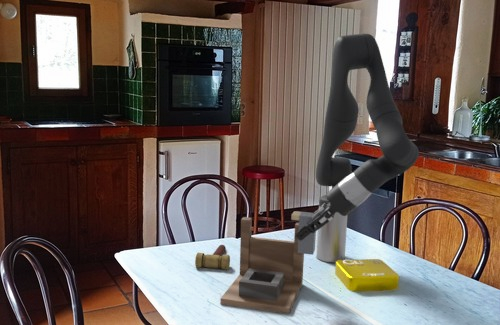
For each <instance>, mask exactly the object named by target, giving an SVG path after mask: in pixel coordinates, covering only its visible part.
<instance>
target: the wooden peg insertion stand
mask: <svg viewBox="0 0 500 325" xmlns="http://www.w3.org/2000/svg"><path fill="white" fill-rule="evenodd" d="M252 225H253V218H252V217H249V216H248V217H246V216H243V217H242V218H241V219H240V249H239V252H240V253H239V255H240V256H239V274H238V276H237V277H236V278H235V279H234V281H233V282H232V283H231V285H230V286H228V288H227V290H226V291H225V292H224V294H223V295H222V296H221V297H220V303H219V304H220V305H225V306H231V307H240V308H246V309H253V310H259V311H265V312H272V313H273V312H274V313H280V314H286V315H290V313H291V310H292V308H293V306H294V304H295V301H296V299H297V297H298V295H299V293H300V290H301V288H302V286H303V284H304V283H303V282H304V279H303V278H304V259H305V254H302V253H298V238H297V237H296V233H297V232H298V231H299V230H298V229H299V222H295V224H294V238H293V240H294V241H292V240H283V239H274V238H265V237H255V236H252V230H253V229H252V227H253V226H252Z"/></svg>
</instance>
